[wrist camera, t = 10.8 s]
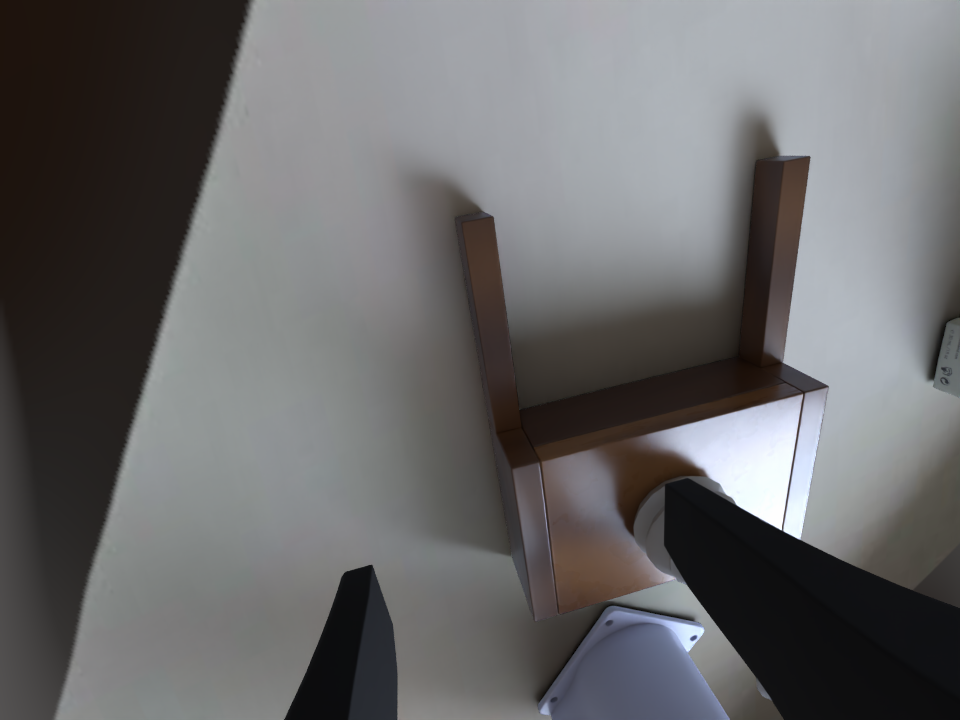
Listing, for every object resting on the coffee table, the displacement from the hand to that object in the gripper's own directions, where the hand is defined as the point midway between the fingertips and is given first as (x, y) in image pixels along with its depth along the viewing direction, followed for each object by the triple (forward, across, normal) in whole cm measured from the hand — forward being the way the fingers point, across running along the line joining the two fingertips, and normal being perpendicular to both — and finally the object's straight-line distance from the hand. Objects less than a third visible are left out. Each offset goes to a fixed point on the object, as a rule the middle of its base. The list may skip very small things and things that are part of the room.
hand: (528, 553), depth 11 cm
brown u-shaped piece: (+10, -8, +2) cm, 13 cm away
